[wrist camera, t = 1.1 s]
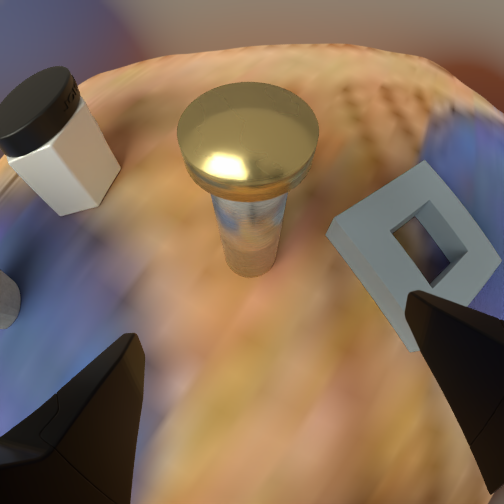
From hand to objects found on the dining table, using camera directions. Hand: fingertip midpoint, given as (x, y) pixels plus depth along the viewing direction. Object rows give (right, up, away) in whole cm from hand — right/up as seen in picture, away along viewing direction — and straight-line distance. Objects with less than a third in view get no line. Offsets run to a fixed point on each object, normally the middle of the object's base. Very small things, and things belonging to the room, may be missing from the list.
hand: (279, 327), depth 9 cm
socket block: (+13, +2, +15) cm, 20 cm away
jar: (-18, +10, +18) cm, 27 cm away
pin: (-1, +2, +15) cm, 15 cm away
